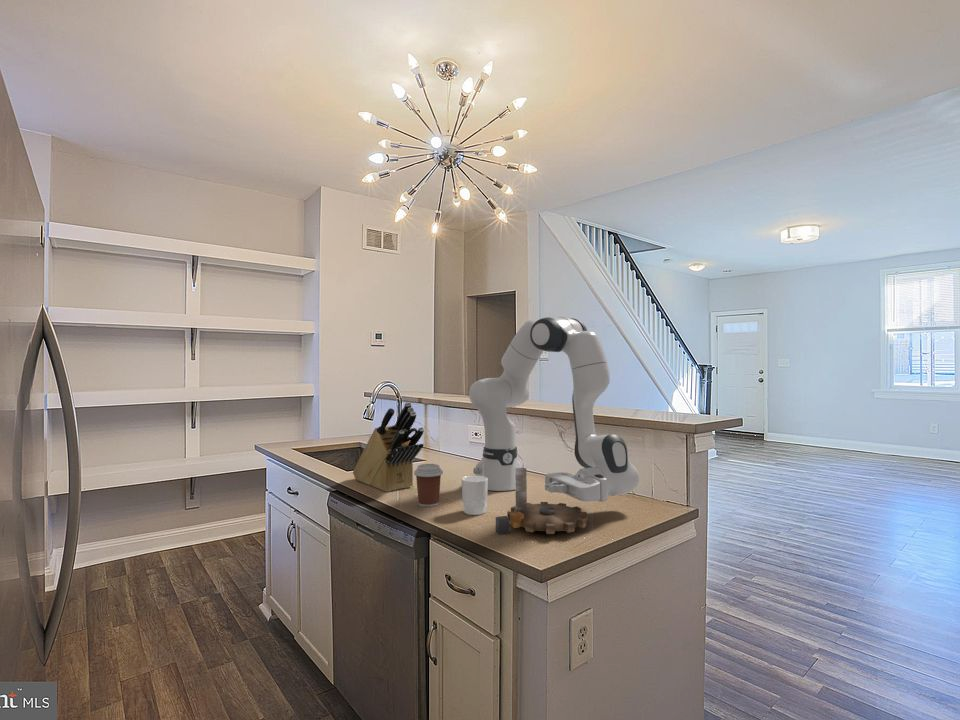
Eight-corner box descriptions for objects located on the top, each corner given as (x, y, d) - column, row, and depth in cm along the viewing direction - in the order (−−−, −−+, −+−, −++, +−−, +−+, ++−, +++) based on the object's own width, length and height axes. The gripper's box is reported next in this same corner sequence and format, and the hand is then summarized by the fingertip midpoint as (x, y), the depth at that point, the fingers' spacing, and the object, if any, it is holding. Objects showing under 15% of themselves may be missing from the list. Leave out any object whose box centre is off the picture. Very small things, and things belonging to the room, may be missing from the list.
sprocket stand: (490, 528, 136) (490, 514, 136) (552, 519, 144) (551, 505, 144) (504, 538, 129) (503, 522, 129) (567, 528, 136) (567, 513, 136)
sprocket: (507, 533, 128) (507, 478, 128) (507, 508, 150) (506, 460, 150) (593, 534, 127) (593, 478, 127) (581, 508, 149) (580, 461, 149)
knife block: (398, 498, 167) (397, 404, 167) (352, 479, 194) (351, 398, 194) (427, 493, 174) (426, 402, 174) (378, 475, 201) (378, 397, 201)
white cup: (458, 509, 154) (458, 476, 154) (482, 506, 157) (482, 474, 157) (466, 517, 147) (466, 482, 147) (492, 514, 149) (491, 480, 149)
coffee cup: (409, 502, 162) (408, 465, 162) (434, 498, 167) (433, 461, 167) (422, 509, 154) (422, 470, 154) (448, 504, 160) (448, 466, 160)
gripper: (569, 466, 157) (529, 470, 152) (610, 479, 139) (566, 485, 133) (569, 486, 157) (529, 491, 152) (610, 502, 139) (567, 509, 133)
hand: (547, 488), depth 142 cm, fingers closed
